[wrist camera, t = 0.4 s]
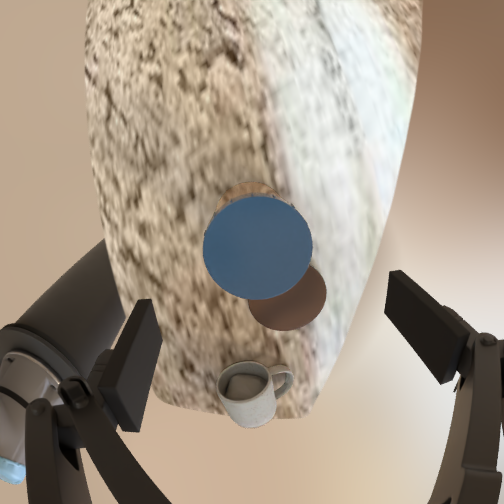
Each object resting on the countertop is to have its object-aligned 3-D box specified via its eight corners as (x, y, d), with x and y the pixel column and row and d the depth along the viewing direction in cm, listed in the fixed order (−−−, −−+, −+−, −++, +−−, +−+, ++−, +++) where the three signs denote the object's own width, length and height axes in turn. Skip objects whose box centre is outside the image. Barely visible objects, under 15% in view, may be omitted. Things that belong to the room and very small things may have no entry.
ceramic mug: (230, 400, 44) (232, 437, 37) (215, 365, 41) (214, 405, 34) (295, 386, 44) (305, 423, 37) (287, 350, 41) (298, 387, 34)
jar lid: (188, 265, 26) (185, 273, 24) (234, 173, 23) (234, 176, 21) (275, 304, 28) (278, 314, 26) (326, 222, 25) (332, 228, 23)
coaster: (234, 312, 38) (234, 314, 38) (273, 247, 35) (273, 248, 35) (299, 338, 40) (300, 340, 40) (339, 280, 37) (341, 281, 37)
